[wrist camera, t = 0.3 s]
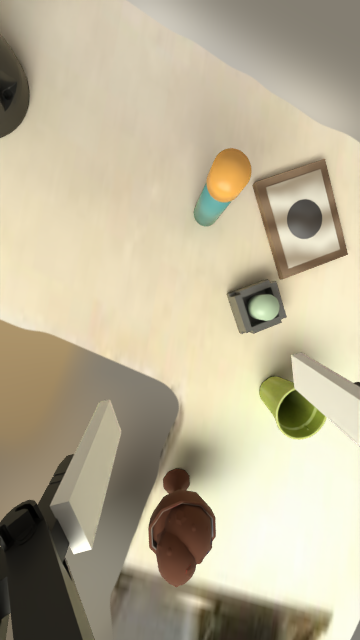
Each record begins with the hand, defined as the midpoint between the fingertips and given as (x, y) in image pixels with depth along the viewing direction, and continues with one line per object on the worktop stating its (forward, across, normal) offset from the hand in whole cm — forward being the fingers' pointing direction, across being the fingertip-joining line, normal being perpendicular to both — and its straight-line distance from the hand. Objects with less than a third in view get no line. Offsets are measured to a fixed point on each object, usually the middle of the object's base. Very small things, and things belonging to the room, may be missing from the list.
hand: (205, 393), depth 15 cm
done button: (+23, +14, -1) cm, 27 cm away
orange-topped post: (+28, +9, +17) cm, 34 cm away
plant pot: (+24, +16, -20) cm, 35 cm away
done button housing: (+26, +14, -2) cm, 30 cm away
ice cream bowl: (+21, -8, -32) cm, 39 cm away
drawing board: (+28, +27, +12) cm, 41 cm away
